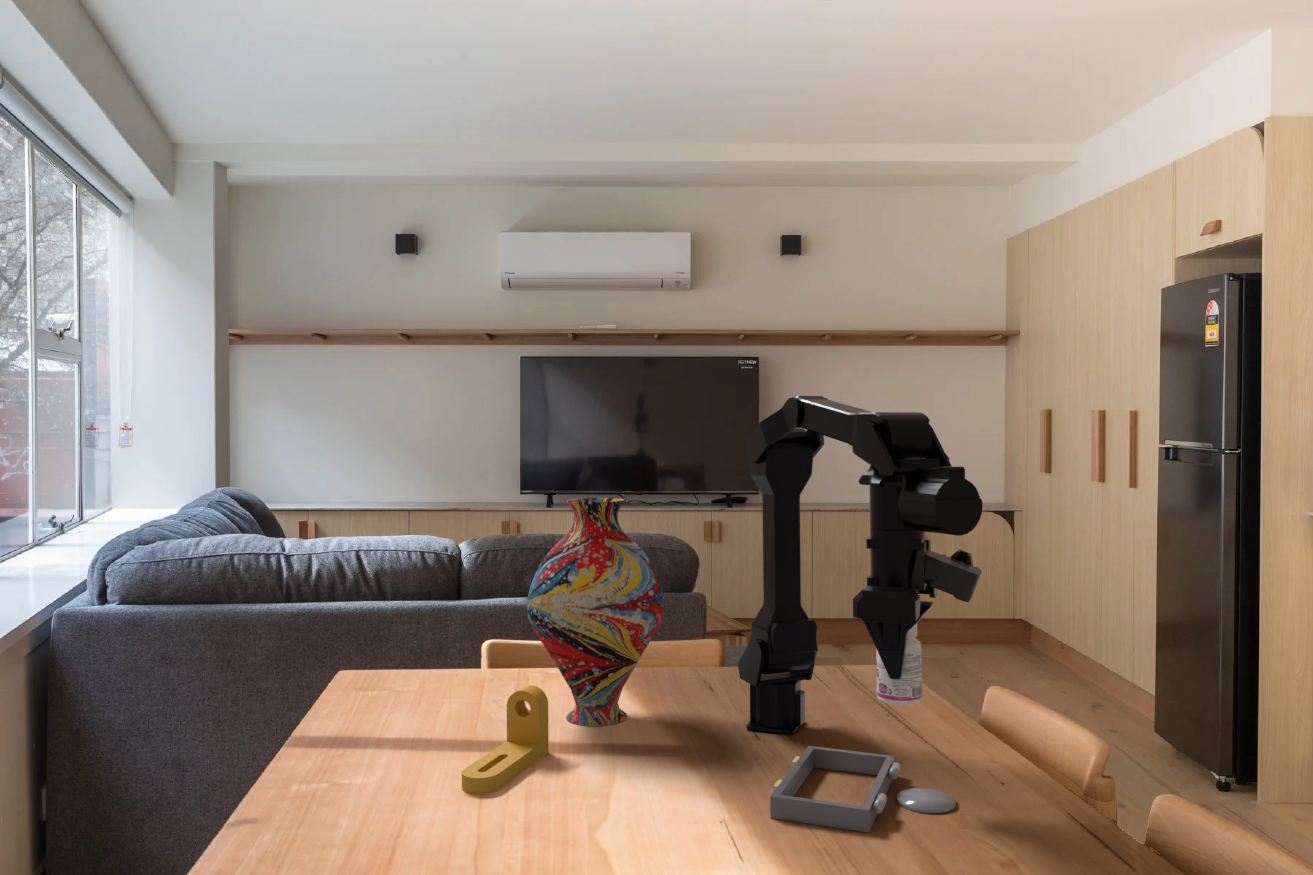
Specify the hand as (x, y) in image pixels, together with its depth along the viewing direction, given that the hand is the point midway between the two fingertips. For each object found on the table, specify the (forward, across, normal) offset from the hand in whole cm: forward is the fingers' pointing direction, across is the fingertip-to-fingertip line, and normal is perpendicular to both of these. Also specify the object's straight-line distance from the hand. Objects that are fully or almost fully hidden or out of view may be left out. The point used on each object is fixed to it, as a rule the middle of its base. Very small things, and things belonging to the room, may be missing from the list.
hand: (899, 673), depth 105 cm
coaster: (+13, 0, -3) cm, 14 cm away
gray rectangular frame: (+13, -2, +7) cm, 15 cm away
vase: (+13, +14, +43) cm, 47 cm away
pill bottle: (+3, 0, 0) cm, 3 cm away
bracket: (+13, -9, +44) cm, 47 cm away
